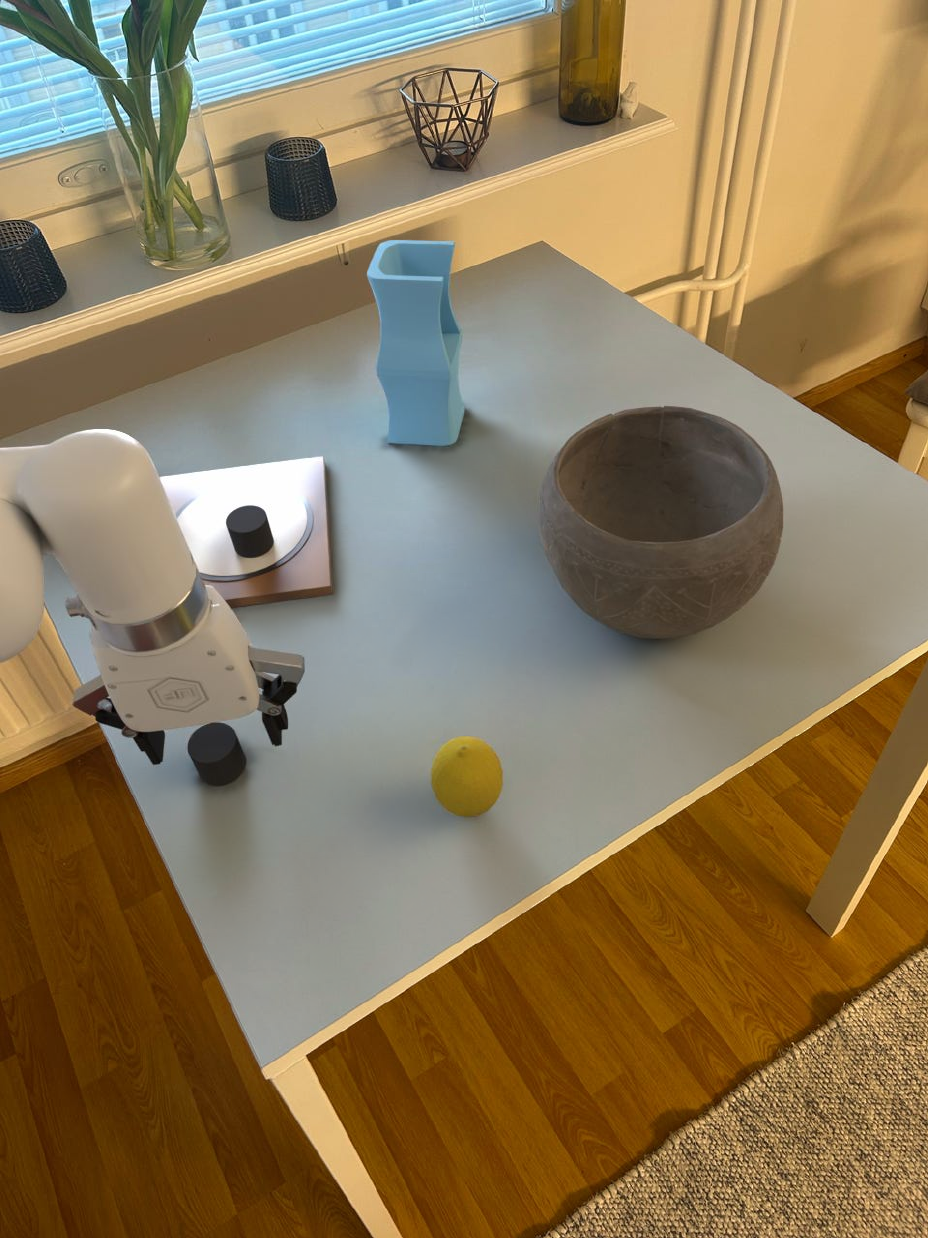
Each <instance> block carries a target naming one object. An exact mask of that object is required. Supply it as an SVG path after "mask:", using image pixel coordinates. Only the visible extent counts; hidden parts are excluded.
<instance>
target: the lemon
mask: <svg viewBox="0 0 928 1238" xmlns="http://www.w3.org/2000/svg"><path fill="white" fill-rule="evenodd" d="M430 781H431V782H430V783H431V784H430V785H431V789H432V791H433V795H434V797H435V799H436V800H437V802H438V803H439V805H440V806H441V807H442V808H443V809H445V810H446V811H448V812H449V813H450V814H452V815H454V816H456V817H460V818H461V817H463V818H474V817H477V816H481V815H483V814H484V813H486V812H488V811H489V810H490V809H492V808H493V806H494V805H496V802H497V801H498V800H499V797H500V796H501V792H502V789H503V785H504V783H503V782H504V772H503V768H502V764H501V761H500V759H499V756H498V755H497V753H496V752H495V750H494V749H493V748H492V746H491V745H489V743H487V742H486V741H485V740H483V739H481V738H479V737H475V736H470V735H461V736H457V737H454V738H451V739H449V740H448V741H447V742H445V743H444V744H443V745H442V746H441V747H440V748H439V749H438V751H437V752H436V754H435V757H434V758H433V761H432V766H431V770H430Z"/></svg>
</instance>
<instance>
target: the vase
mask: <svg viewBox="0 0 928 1238" xmlns="http://www.w3.org/2000/svg"><path fill="white" fill-rule="evenodd" d="M455 247H456V241H455V240H417V239H415V240H414V239H413V240H412V239H388V240H385V241H382V242H381V243H379V244H378V246H377V248H376V250H375V252H374V255H373V258H372V260H371V261H370V264H369V266H368V269H367V272H366V276H367V279H368V282H369V284H370V287H371V289H372V292H373V295H374V298H375V302H376V306H377V308H378V314H379V319H380V340H379V341H380V342H379V349H378V355H377V359H376V366H375V370H376V376H377V379H378V381H379V383H380V385H381V388H382V390H383V393H384V396H385V399H386V402H387V407H388V417H389V418H388V432H387V433H388V434H387V441H386V444H399V445H400V444H401V445H417V446H434V447H445V446H447V447H448V446H452V445H453V444H455V443H456V442H457V441H458V438H459V435H460V430H461V427H462V423H463V419H464V415H465V412H466V411H465V410H466V409H465V404H464V403H463V402H464V401H463V398H462V394H461V389H460V383H459V382H460V381H459V366H460V365H459V364H460V363H459V362H460V356H461V355H460V353H461V348H462V342H463V330H462V327H461V325H460V323H459V321H458V319H457V316H456V314H455V312H454V309H453V305H452V300H451V294H450V279H451V271H452V263H453V257H454V252H455Z"/></svg>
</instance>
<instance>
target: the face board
mask: <svg viewBox="0 0 928 1238" xmlns="http://www.w3.org/2000/svg"><path fill="white" fill-rule="evenodd" d="M159 478H160V480H161V482H162V485H163V487H164V489H165V492H166V494H167V497H168V499H169V501H170V504H171V506H172V508H173V511H174V513H175V516H176V518H177V520H178V523H179V525H180V528H181V530H182V533H183V535H184V537H185V540H186V542H187V544H188V547H189V549H190V551H191V554H192V556H193V558H194V561H195V563H196V565H197V568H198V570H199V572H200V575H201V577H202V580H203V582H204V584H205V585H210V586H213V587H214V588H215V590H216V591H217V592H218V593H219V594H220V595H221V596H222V598H223V599H224V600H225V601H226V603H227V604H228V605H229V607H230V608H231V609H233V608H241V607H246V606H254V605H263V604H268V603H269V604H270V603H276V602H284V601H291V600H298V599H305V598H306V599H307V598H314V597H323V596H328V595H333V579H332V577H333V576H332V561H331V541H330V524H329V523H330V522H329V506H328V488H327V487H328V485H327V469H326V461H325V457H324V455H319V456H313V457H304V458H297V459H289V460H281V461H273V462H266V463H258V464H250V465H242V466H234V467H225V468H218V469H211V470H203V471H194V472H186V473H180V474H172V475H171V474H170V475H163V476H159ZM246 505H255V506H259V507H261V508H262V509H264V511H265V512H266V514H267V518H268V521H269V525H270V528H271V532H272V535H273V539H274V544H273V546H272V548H271V549H270V551H268V552H267V553H266V554H264V555H262V556H260V557H256V558H245V557H241V556H240V555H238V554H237V553H236V552H235V549H234V546H233V543H232V540H231V538H230V535H229V532H228V529H227V526H226V519H227V516H228V515H229V514H230V513H231V512H232V511H233V510H235V509H236V508H239V507H241V506H246Z"/></svg>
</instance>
